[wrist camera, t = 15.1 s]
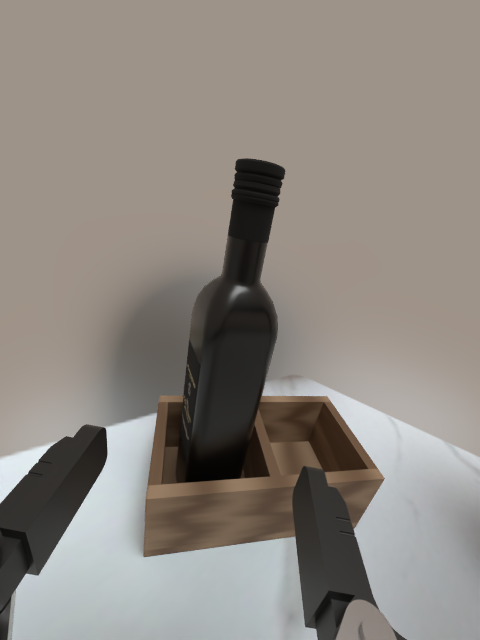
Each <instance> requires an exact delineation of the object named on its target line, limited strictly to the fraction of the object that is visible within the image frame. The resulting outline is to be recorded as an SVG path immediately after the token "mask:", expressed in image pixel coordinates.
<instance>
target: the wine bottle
mask: <svg viewBox="0 0 480 640" xmlns="http://www.w3.org/2000/svg"><path fill="white" fill-rule="evenodd" d="M235 170H236V171H237V173H236V174H235V181H234V184H233V186H234V187H235V189H233V190H232V195H231V197H232V199H233V205H232V211H231V219H230V225H229V232H228V238H227V245H226V251H225V258H224V265H223V271H222V274H221V276H219V277H217V278H215V279H213V280H212V281H211V282H209V283H208V284H207V285H205V286H204V288H203V289H202V290H201V291H200V293H199V294H198V296H197V298H196V301H195V303H194V307H193V311H192V319H191V328H190V338H189V347H188V357H187V367H186V376H185V386H184V396H183V405H182V415H181V425H180V435H179V444H178V454H177V464H176V478H177V483H190V482H203V481H216V480H230V479H240V477H241V474H242V470H243V466H244V462H245V458H246V454H247V450H248V447H249V443H250V439H251V435H252V431H253V427H254V424H255V420H256V416H257V412H258V408H259V404H260V401H261V397H262V393H263V389H264V385H265V381H266V377H267V374H268V369H269V366H270V362H271V358H272V354H273V350H274V346H275V343H276V339H277V331H278V322H277V314H276V311H275V308H274V304H273V301H272V299H271V298H270V296H269V294H268V292H267V291H266V289H265V288H264V286H263V285H262V284H261V282H260V277H261V272H262V267H263V263H264V257H265V252H266V247H267V243H268V240H269V235H270V230H271V225H272V219H273V215H274V210H275V207H277V206H278V202H279V198H278V197H277V196H278V195H279V194H280V188H281V186H282V182H281V180H282V179H284V175H285V169H284V168H283V167H281V166H279V165H277V164H274V163H270V162H267V161H262V160H256V159H238V160H237V161H236V166H235Z"/></svg>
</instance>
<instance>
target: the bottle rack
mask: <svg viewBox="0 0 480 640" xmlns="http://www.w3.org/2000/svg"><path fill="white" fill-rule="evenodd" d="M182 405H183V396H160V397H159V404H158V412H157V419H156V427H155V434H154V442H153V449H152V457H151V464H150V472H149V479H148V487H147V495H146V509H145V537H144V557H148V556H155V555H162V554H170V553H177V552H184V551H192V550H199V549H206V548H213V547H221V546H228V545H235V544H242V543H250V542H257V541H264V540H272V539H279V538H286V537H293V536H295V527H294V518H293V508H292V496H293V490H294V487H295V485H296V482H297V480H298V477H299V475H300V472H301V470H302V468H303V466H308V467H313V468H318V469H323V470H324V472H325V475H326V479H327V483H328V486H330V487H335V488H337V490H338V491H339V493H340V494H341V496H342V498H343V499H344V501H345V502H346V505H347V509H348V512H349V516H350V519H351V520H350V522H351V523H352V526H353V528H355V527H356V525H357V523H358V522H359V520H360V518H361V517H362V515H363V514H364V512H365V510H366V509H367V507H368V505H369V504H370V502H371V500H372V499H373V497H374V495H375V494H376V492H377V490H378V489H379V487H380V486H381V484H382V482H383V481H384V479H385V478H384V477H383V475H382V474H381V472H380V471H379V470H378V468H377V467H376V465H375V464H374V463H373V461H372V460H371V458H370V457H369V455H368V454H367V453H366V451H365V450H364V448H363V447H362V445H361V444H360V443H359V441H358V440H357V438H356V437H355V435H354V434H353V433H352V431H351V430H350V428H349V427H348V425H347V424H346V423H345V421H344V420H343V418H342V417H341V415H340V414H339V413H338V411H337V410H336V408H335V407H334V405H333V404H332V403H331V401H330V400H329V398H328V397H327V396H262V397H261V401H260V404H259V408H258V412H257V416H256V420H255V424H254V427H253V431H252V435H251V439H250V443H249V447H248V450H247V454H246V458H245V462H244V466H243V470H242V474H241V477H240V479H230V480H216V481H203V482H190V483H177V478H176V464H177V454H178V444H179V435H180V425H181V415H182Z"/></svg>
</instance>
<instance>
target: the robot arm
mask: <svg viewBox="0 0 480 640" xmlns="http://www.w3.org/2000/svg"><path fill="white" fill-rule="evenodd" d="M106 459H107V435H106V429H105V428H103V427H98V426H92V425H84V426H82V427H81V428H80V430H79V431H78V432H77V433H76V435H75V436H74V437H73V438H72V437H67V436H66V437H64V438H63V439H61V440H60V441H58V442H57V443H56V444H54V445H53V446H51V447H50V448H49V449H48V450H47V452H46V453H45V454H44V455H43V456H42V457H41V458H40V459H39V462H38V463H36V464H35V465H34V466H33V467H32V468H31V470H30V471H29V473H28V474H27V475H25V476H24V478H23V479H22V480H21V481H20V482H19V483H18V484H17V485H16V487H15V488H14V489H13V490H12V491H11V492H10V493H9V495H8V496H7V497H6V498H5V499H4V500H3V501H2V502H1V504H0V640H12V631H13V618H14V606H15V594H16V588H17V587H18V585H19V583H20V582H21V580H22V579H23V577H24V576H25V574H26V573H27V574H32V575H39V573H40V572H41V570H42V568H43V567H44V565H45V564H46V562H47V560H48V559H49V557H50V555H51V554H52V552H53V550H54V549H55V547H56V545H57V544H58V542H59V540H60V539H61V537H62V536H63V534H64V532H65V531H66V529H67V527H68V526H69V524H70V522H71V521H72V519H73V517H74V516H75V514H76V512H77V511H78V509H79V507H80V506H81V504H82V503H83V501H84V499H85V498H86V496H87V494H88V493H89V491H90V489H91V488H92V486H93V484H94V483H95V481H96V479H97V478H98V476H99V474H100V473H101V471H102V469H103V467H104V465H105V462H106ZM292 508H293V518H294V527H295V536H296V545H297V555H298V564H299V573H300V582H301V592H302V601H303V610H304V619H305V627H309V628H314V629H316V630H317V637H318V640H406V639H405V638H403V637H402V636H401V635H399V634H398V633H397V632H396V631H395V630H394V629H393V628H392V627H391V626H390V624H389V622H388V621H387V619H386V618H385V617H384V615H383V614H382V613H381V612H380V610H379V608H378V607H377V604H376V602H375V600H374V597H373V594H372V591H371V588H370V584H369V581H368V578H367V574H366V571H365V567H364V564H363V560H362V557H361V554H360V550H359V547H358V543H357V540H356V537H355V535H354V534H355V533H354V530H353V526H352V523H351V522H350V520H351V519H350V516H349V512H348V509H347V505H346V502H345V501H344V499H343V498H342V496H341V494H340V493H339V491H338V490H337V488H335V487H330V486H328V483H327V479H326V475H325V472H324V470H323V469H318V468H313V467H308V466H303V468H302V470H301V472H300V475H299V477H298V480H297V482H296V485H295V487H294V490H293V496H292Z"/></svg>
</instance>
